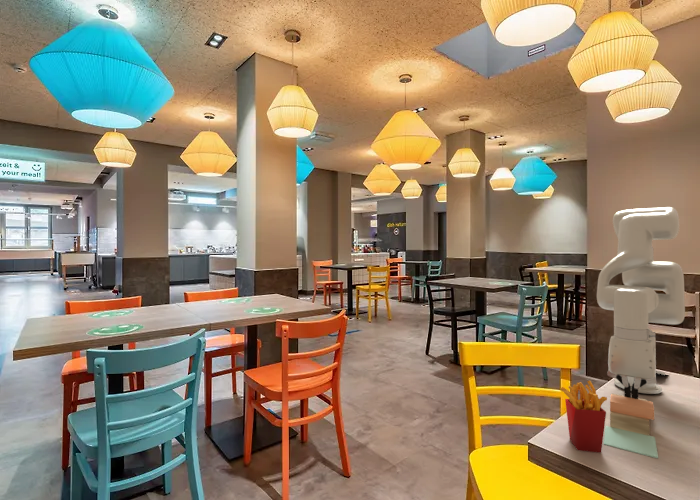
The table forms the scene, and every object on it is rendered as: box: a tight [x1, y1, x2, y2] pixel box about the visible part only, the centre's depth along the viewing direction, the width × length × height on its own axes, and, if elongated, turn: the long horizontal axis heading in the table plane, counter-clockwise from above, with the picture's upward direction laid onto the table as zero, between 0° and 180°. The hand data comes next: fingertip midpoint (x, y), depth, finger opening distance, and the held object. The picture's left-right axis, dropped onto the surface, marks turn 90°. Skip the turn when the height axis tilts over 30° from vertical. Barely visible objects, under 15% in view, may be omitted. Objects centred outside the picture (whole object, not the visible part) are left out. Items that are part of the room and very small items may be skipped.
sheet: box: [609, 393, 651, 436], centre depth 101 cm, size 16×8×4 cm, turn 144°
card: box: [609, 393, 655, 421], centre depth 98 cm, size 6×9×2 cm, turn 54°
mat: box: [603, 425, 659, 459], centre depth 90 cm, size 11×10×1 cm
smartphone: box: [656, 369, 666, 376], centre depth 137 cm, size 7×15×1 cm, turn 130°
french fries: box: [559, 380, 608, 454], centre depth 89 cm, size 9×8×15 cm
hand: (631, 401), depth 101 cm, fingers closed
